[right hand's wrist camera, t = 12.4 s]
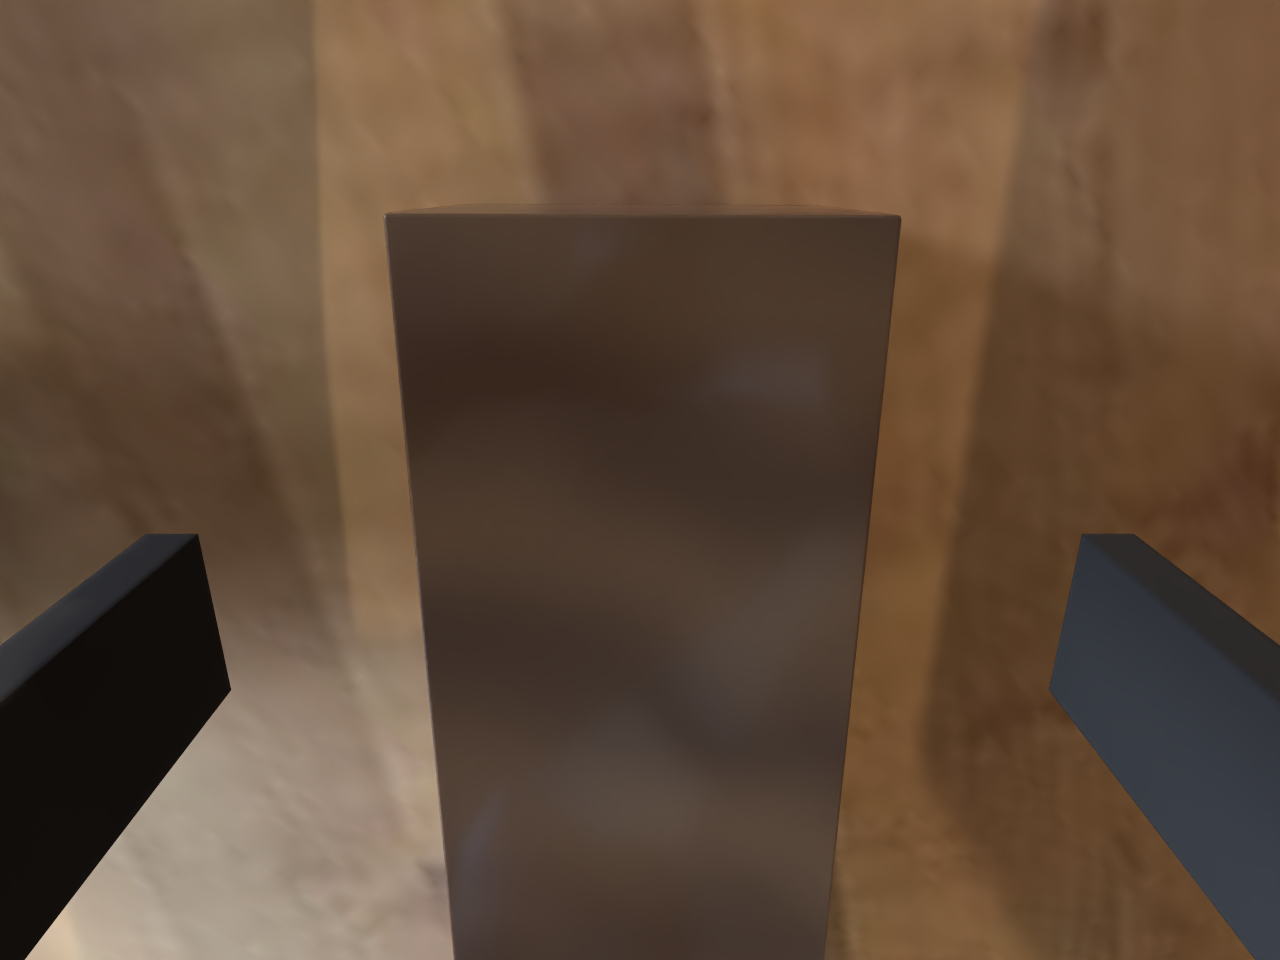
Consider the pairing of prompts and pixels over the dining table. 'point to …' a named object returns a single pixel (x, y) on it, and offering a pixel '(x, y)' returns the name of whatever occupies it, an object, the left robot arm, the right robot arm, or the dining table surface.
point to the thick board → (640, 561)
